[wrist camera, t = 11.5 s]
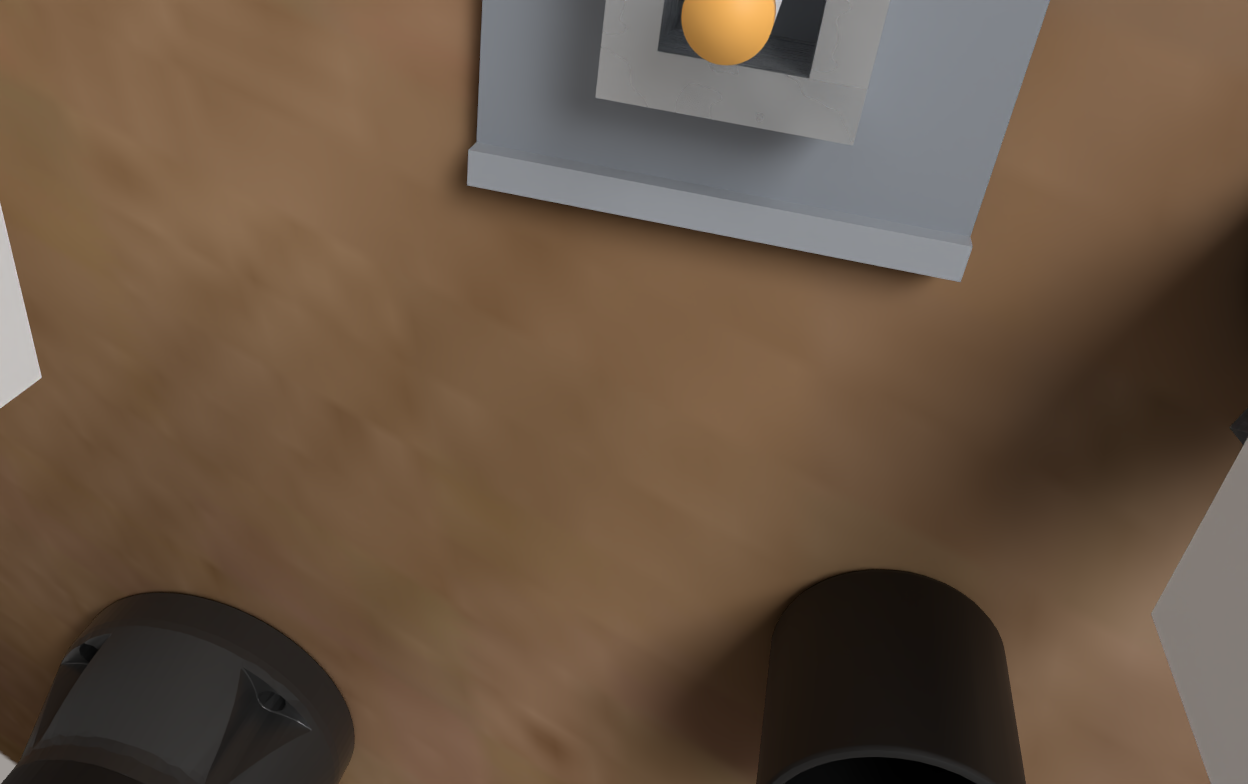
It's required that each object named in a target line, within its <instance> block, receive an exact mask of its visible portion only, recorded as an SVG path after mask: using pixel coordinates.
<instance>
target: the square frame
mask: <svg viewBox="0 0 1248 784" xmlns="http://www.w3.org/2000/svg"><path fill="white" fill-rule="evenodd" d="M889 3H890V0H825V2H824V7H823V11H822V16H821V20H820V25H819V30H818V34H817V39H816V43H812V42H806V41H801V40H795V39H789V38H784V37H778V36H772V35H770V36H769V38H768V40H767V42H766V44H765V45H764V46H763V48H762V49H761V50H760V51H759V52H758V53H757V54H756V55H755V56H754V57H752V58H750V59H749V60H747V61H745V62H743V63H739V64H736V65H718V64H714V63H711V62H709V61H707V60H705V59H703V58H702V57H700V56H699V55H698V54H697V53H696V52H695V51H694V50H693V49H692V48H691V47H690V45H689V43H688V42H687V40H686V38H685V35H684V32H683V28H682V20H681V13H682V6H683V0H606V4H605V13H604V22H603V32H602V41H601V50H600V60H599V69H598V78H597V87H596V97H595V98H600V99H605V100H610V101H616V102H621V103H626V104H632V105H637V106H643V107H648V108H653V109H659V110H664V111H670V112H675V113H680V114H686V115H691V116H696V117H702V118H707V119H713V120H718V121H723V122H729V123H734V124H739V125H745V126H750V127H756V128H761V129H766V130H772V131H777V132H783V133H788V134H793V135H799V136H804V137H809V138H815V139H820V140H826V141H831V142H836V143H842V144H847V145H853V144H854V140H855V136H856V132H857V128H858V124H859V120H860V116H861V112H862V109H863V105H864V101H865V97H866V93H867V89H868V85H869V81H870V77H871V73H872V69H873V65H874V62H875V58H876V54H877V50H878V46H879V42H880V38H881V34H882V30H883V26H884V22H885V19H886V15H887V11H888V7H889Z"/></svg>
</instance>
